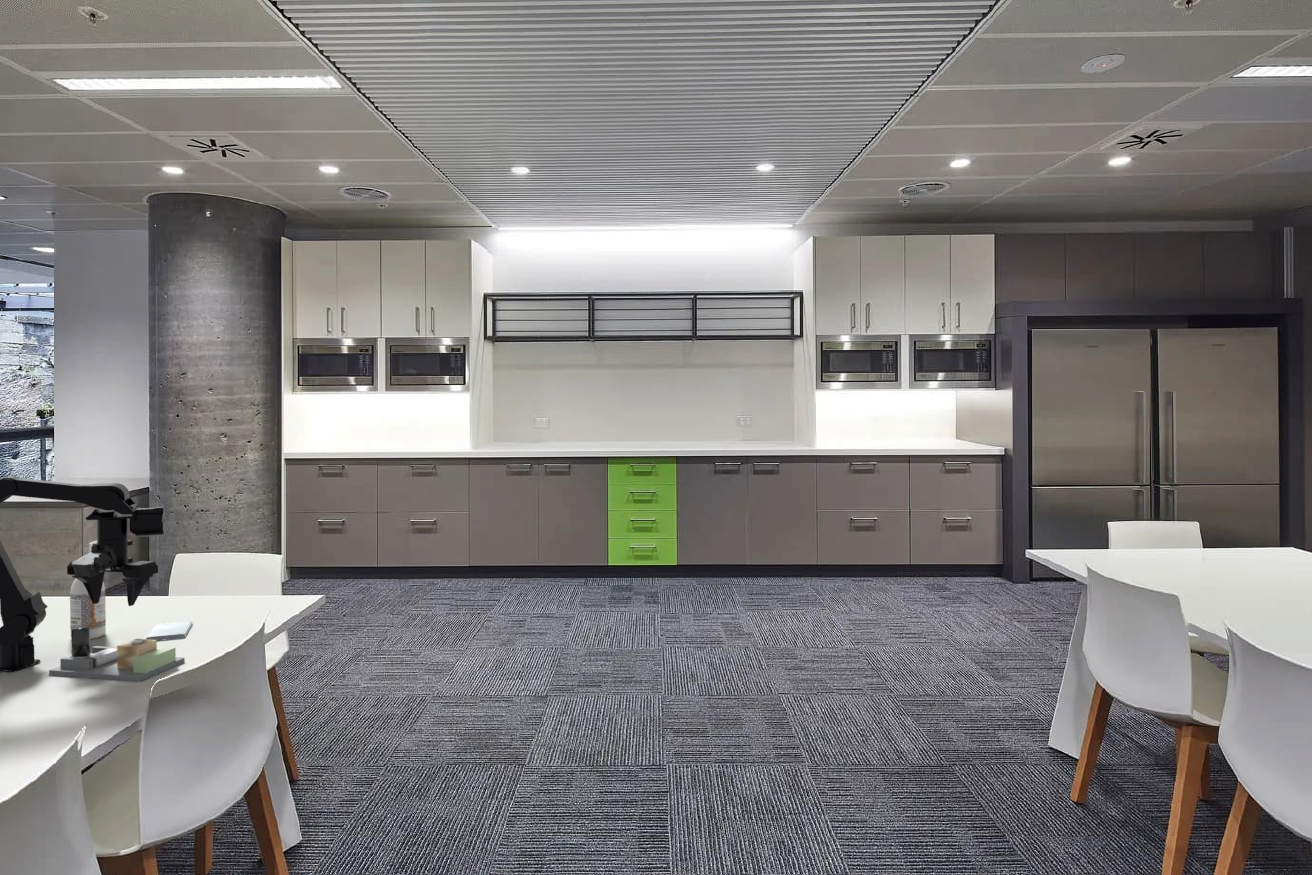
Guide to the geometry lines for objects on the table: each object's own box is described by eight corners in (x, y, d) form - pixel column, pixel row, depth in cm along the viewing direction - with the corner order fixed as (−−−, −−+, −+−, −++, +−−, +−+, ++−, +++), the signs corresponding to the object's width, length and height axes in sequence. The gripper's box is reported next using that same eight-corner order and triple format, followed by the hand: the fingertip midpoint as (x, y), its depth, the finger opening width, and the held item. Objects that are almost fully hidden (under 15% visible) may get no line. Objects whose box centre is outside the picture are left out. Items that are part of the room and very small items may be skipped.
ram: (61, 664, 159) (61, 631, 158) (86, 655, 164) (86, 623, 164) (96, 666, 157) (96, 633, 157) (120, 657, 163) (120, 625, 163)
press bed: (48, 674, 156) (48, 656, 155) (98, 656, 168) (98, 639, 167) (140, 681, 153) (140, 662, 153) (184, 661, 165) (184, 644, 165)
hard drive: (185, 633, 182) (192, 620, 193) (145, 637, 178) (155, 623, 189) (185, 640, 182) (192, 626, 193) (145, 643, 178) (155, 629, 190)
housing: (117, 668, 157) (117, 644, 157) (136, 660, 162) (136, 637, 162) (137, 669, 157) (137, 645, 157) (156, 661, 162) (156, 638, 161)
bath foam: (92, 641, 178) (91, 560, 177) (63, 640, 178) (62, 560, 177) (112, 632, 185) (111, 555, 184) (84, 632, 185) (83, 554, 184)
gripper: (43, 542, 160) (44, 611, 161) (118, 546, 158) (119, 616, 158) (89, 534, 171) (89, 599, 172) (159, 537, 169) (160, 603, 169)
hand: (113, 604), depth 168 cm, fingers open, 9 cm apart
